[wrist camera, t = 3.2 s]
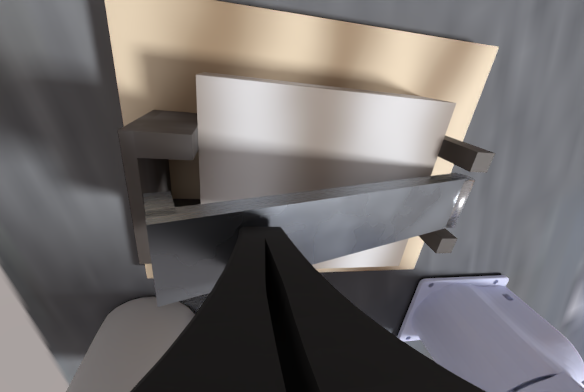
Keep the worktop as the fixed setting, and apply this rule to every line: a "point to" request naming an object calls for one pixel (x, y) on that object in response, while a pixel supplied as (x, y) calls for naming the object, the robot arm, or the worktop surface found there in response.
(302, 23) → the board
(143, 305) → the cup
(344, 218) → the retention strap
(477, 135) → the worktop surface
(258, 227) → the robot arm
